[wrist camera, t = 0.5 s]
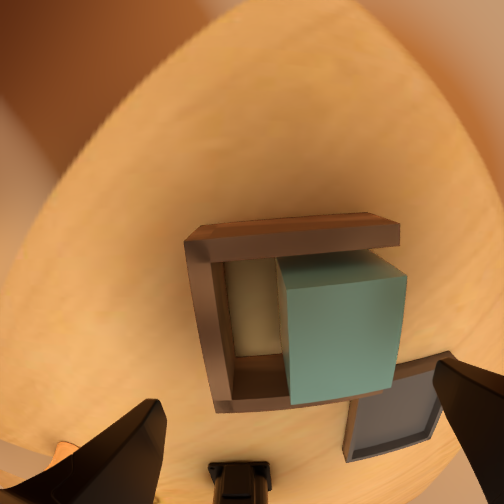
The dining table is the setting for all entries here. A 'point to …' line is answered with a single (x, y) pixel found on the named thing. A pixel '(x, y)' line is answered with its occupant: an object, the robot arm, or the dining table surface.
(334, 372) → the teal block
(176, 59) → the dining table surface
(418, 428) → the gray tray
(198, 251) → the frame
